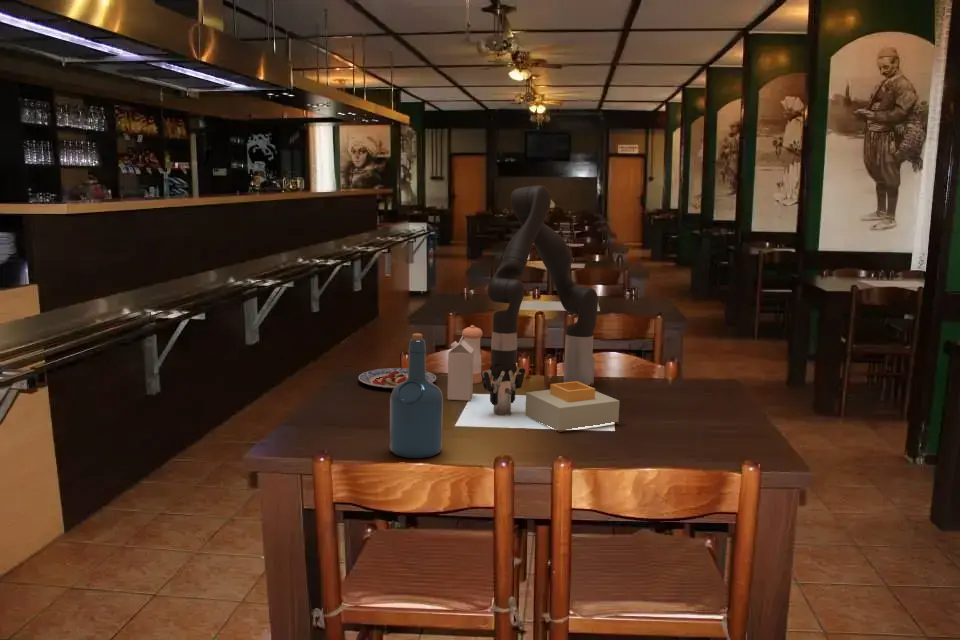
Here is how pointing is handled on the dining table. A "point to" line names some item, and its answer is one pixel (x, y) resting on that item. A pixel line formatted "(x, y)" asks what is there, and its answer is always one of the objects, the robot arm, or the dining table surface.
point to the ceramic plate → (389, 377)
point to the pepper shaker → (473, 339)
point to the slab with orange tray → (571, 406)
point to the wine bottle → (416, 409)
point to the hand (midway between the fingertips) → (502, 403)
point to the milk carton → (460, 371)
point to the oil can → (503, 398)
